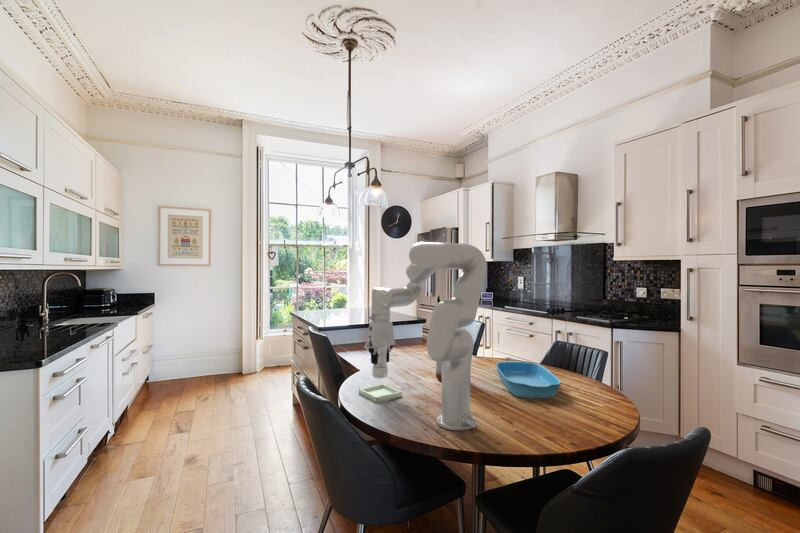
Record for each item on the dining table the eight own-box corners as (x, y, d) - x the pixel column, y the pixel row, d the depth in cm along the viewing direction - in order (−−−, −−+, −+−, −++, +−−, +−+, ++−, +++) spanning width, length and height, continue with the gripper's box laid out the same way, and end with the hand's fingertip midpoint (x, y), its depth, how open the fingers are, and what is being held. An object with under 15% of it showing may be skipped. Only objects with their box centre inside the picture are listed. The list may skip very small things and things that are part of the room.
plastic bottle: (373, 381, 149) (374, 330, 149) (370, 376, 156) (371, 327, 155) (389, 380, 151) (390, 329, 151) (385, 375, 157) (386, 327, 157)
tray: (401, 396, 152) (401, 391, 152) (376, 403, 144) (377, 398, 144) (382, 388, 162) (382, 383, 162) (358, 393, 155) (358, 389, 155)
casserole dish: (569, 403, 147) (569, 385, 146) (510, 402, 147) (511, 383, 147) (537, 375, 183) (537, 360, 183) (491, 374, 184) (491, 360, 184)
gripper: (368, 320, 145) (367, 368, 145) (403, 317, 155) (402, 361, 155) (357, 318, 151) (357, 364, 151) (392, 315, 161) (391, 357, 161)
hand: (380, 362), depth 153 cm, fingers closed on plastic bottle, 5 cm apart
